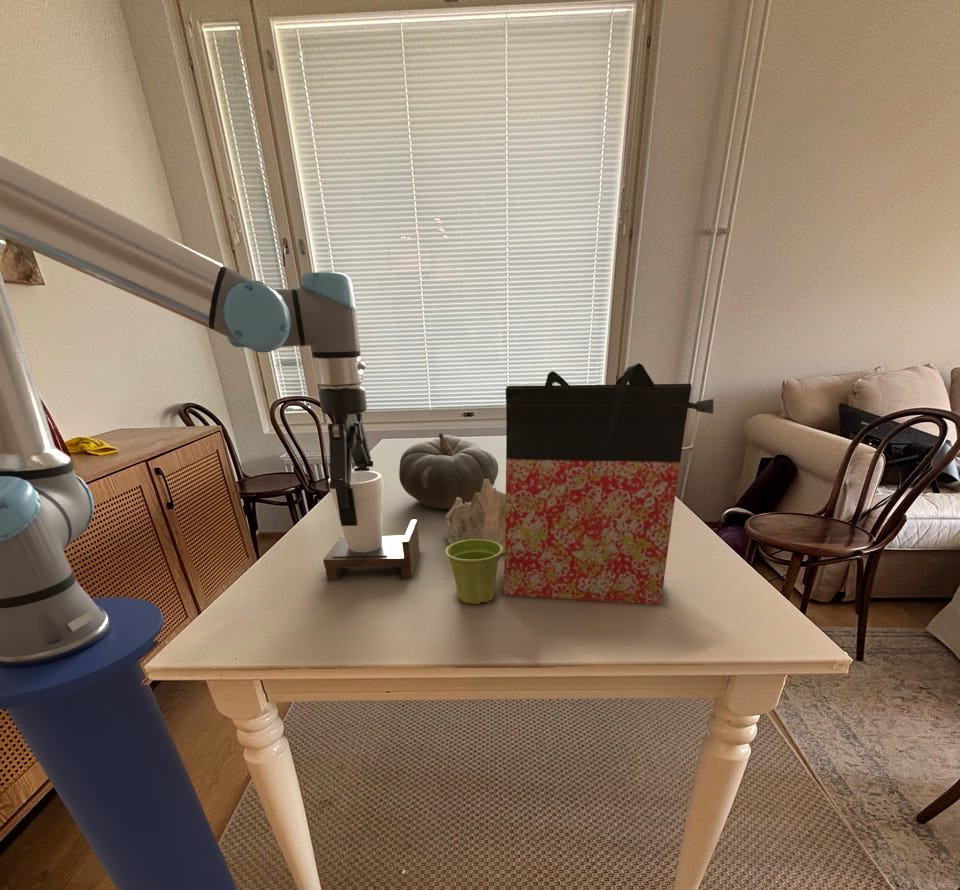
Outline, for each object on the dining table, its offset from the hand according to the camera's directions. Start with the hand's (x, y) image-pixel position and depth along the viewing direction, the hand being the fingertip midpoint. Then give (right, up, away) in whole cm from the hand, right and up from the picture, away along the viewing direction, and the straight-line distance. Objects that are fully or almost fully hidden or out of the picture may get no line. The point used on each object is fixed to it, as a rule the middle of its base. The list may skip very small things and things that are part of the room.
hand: (358, 513), depth 99 cm
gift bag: (+42, -15, -6) cm, 45 cm away
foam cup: (+1, -6, +4) cm, 7 cm away
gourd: (+15, +13, +41) cm, 46 cm away
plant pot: (+22, -16, -7) cm, 28 cm away
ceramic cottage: (+24, -3, +15) cm, 29 cm away
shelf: (+2, -9, +6) cm, 11 cm away
